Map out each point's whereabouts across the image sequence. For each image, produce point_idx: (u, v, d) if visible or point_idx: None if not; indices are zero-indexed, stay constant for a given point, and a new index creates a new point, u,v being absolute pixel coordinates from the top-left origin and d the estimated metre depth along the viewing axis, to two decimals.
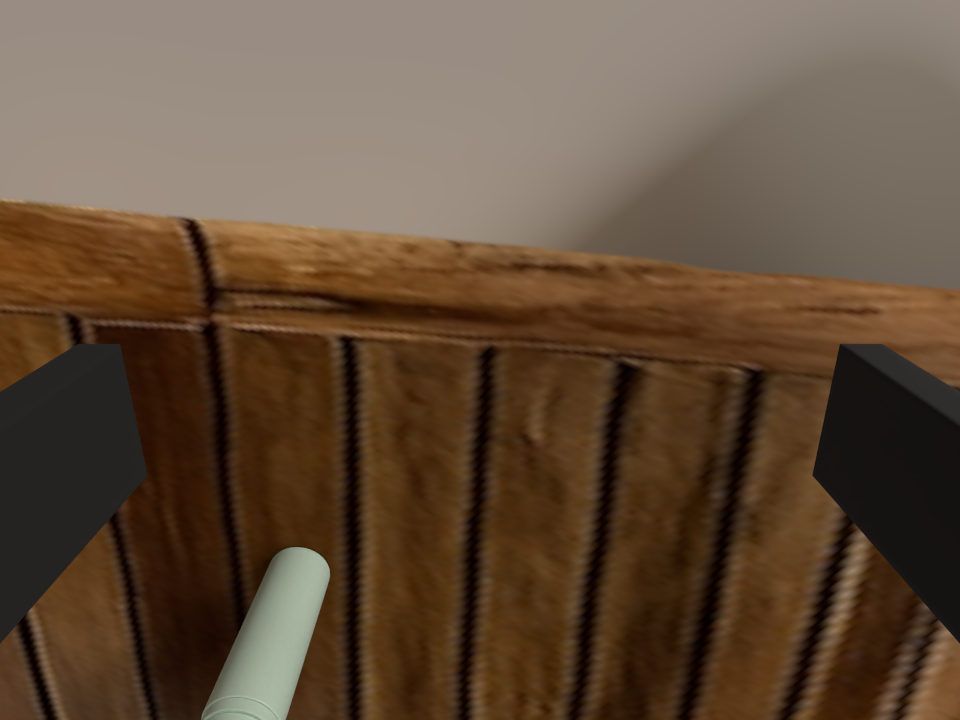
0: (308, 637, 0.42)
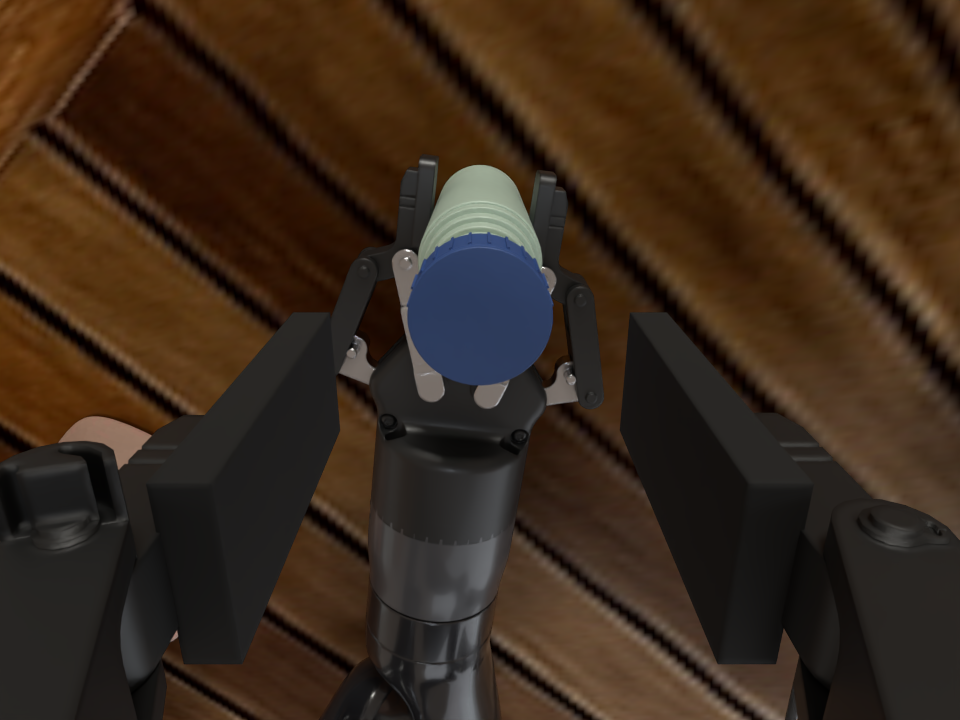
0: (512, 191, 0.29)
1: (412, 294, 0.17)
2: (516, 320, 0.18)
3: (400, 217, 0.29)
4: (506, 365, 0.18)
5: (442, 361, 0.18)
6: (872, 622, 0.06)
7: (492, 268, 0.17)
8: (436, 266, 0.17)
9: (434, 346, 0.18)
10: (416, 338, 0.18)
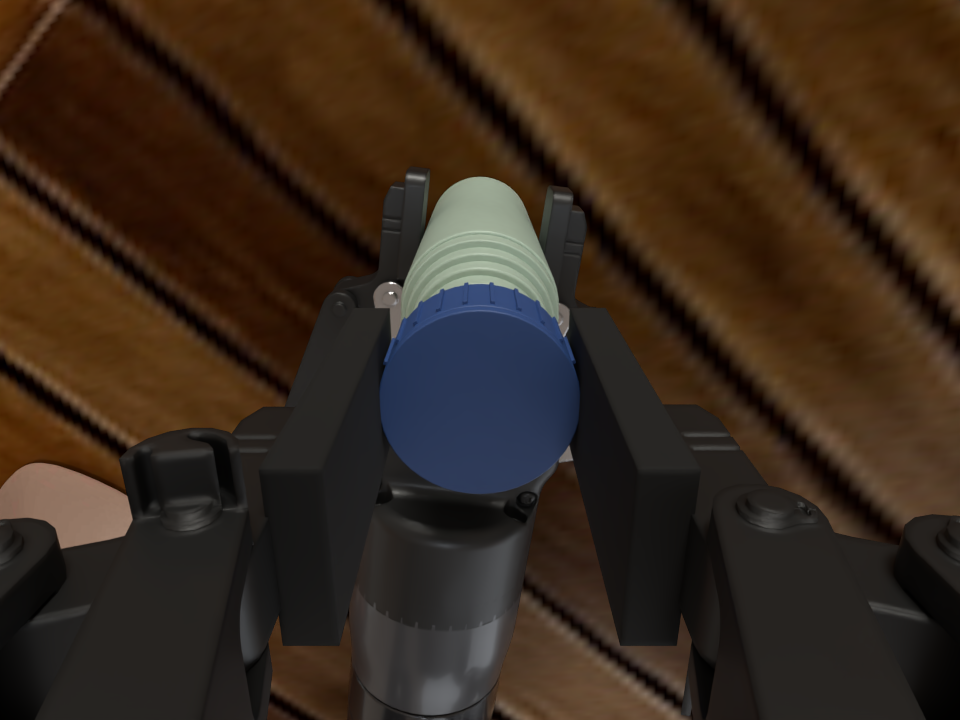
0: (518, 211, 0.24)
1: (385, 374, 0.12)
2: (530, 409, 0.13)
3: (383, 243, 0.24)
4: (516, 468, 0.13)
5: (427, 462, 0.13)
6: (745, 606, 0.06)
7: (497, 339, 0.12)
8: (418, 336, 0.12)
9: (416, 443, 0.13)
10: (391, 433, 0.13)
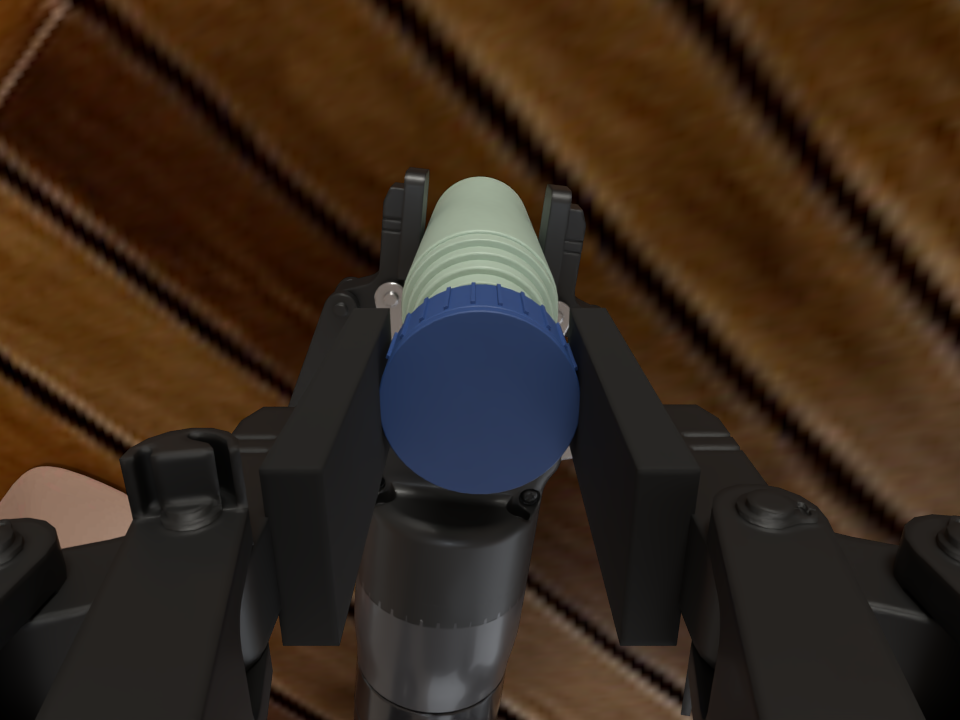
0: (517, 210, 0.24)
1: (511, 487, 0.13)
2: (447, 371, 0.12)
3: (384, 243, 0.24)
4: (508, 338, 0.12)
5: (562, 407, 0.13)
6: (745, 606, 0.06)
7: (415, 438, 0.13)
8: (462, 488, 0.13)
9: (551, 428, 0.13)
10: (557, 451, 0.13)
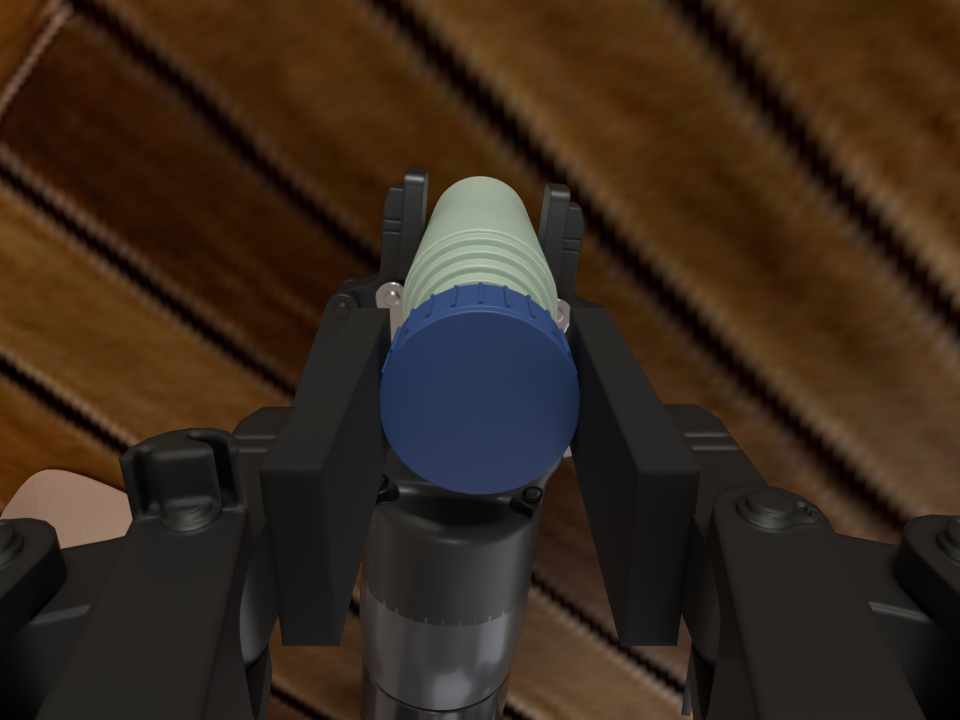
0: (517, 209, 0.24)
1: (530, 325, 0.12)
2: (470, 451, 0.13)
3: (384, 244, 0.24)
4: (406, 432, 0.13)
5: (422, 349, 0.12)
6: (746, 606, 0.06)
7: (547, 432, 0.13)
8: (564, 364, 0.12)
9: (447, 342, 0.12)
10: (464, 319, 0.12)
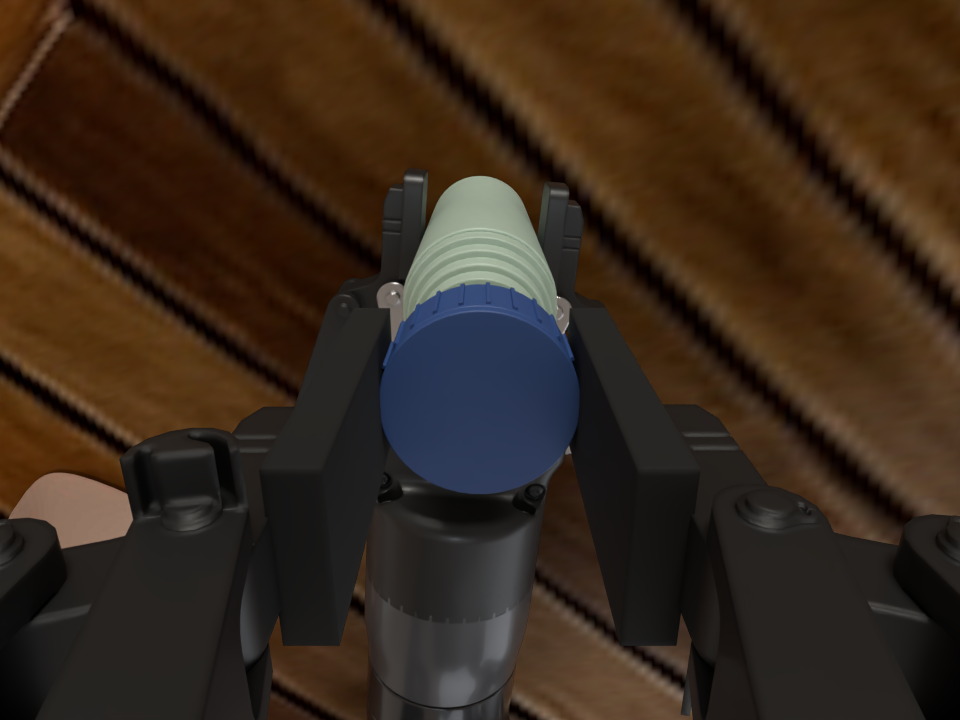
0: (516, 208, 0.24)
1: (383, 424, 0.13)
2: (524, 384, 0.12)
3: (384, 244, 0.24)
4: (547, 441, 0.13)
5: (468, 478, 0.13)
6: (745, 606, 0.06)
7: (454, 341, 0.12)
8: (388, 378, 0.12)
9: (448, 467, 0.13)
10: (421, 470, 0.13)
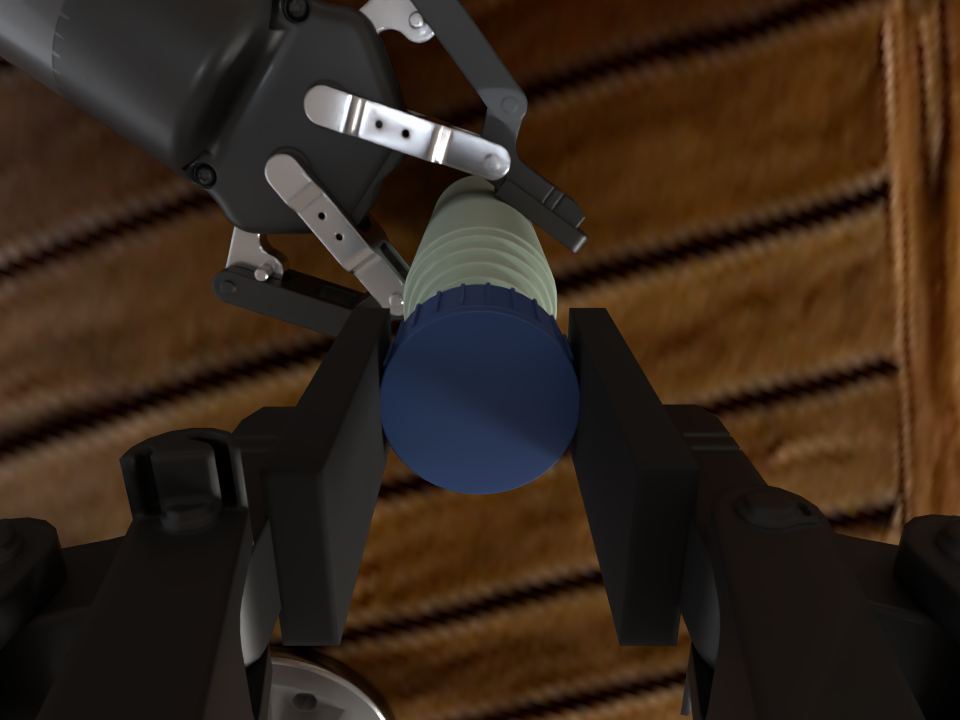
0: None
1: (383, 424, 0.13)
2: (524, 384, 0.12)
3: (542, 182, 0.23)
4: (547, 442, 0.13)
5: (468, 478, 0.13)
6: (745, 605, 0.06)
7: (454, 341, 0.12)
8: (388, 378, 0.12)
9: (447, 467, 0.13)
10: (420, 470, 0.13)
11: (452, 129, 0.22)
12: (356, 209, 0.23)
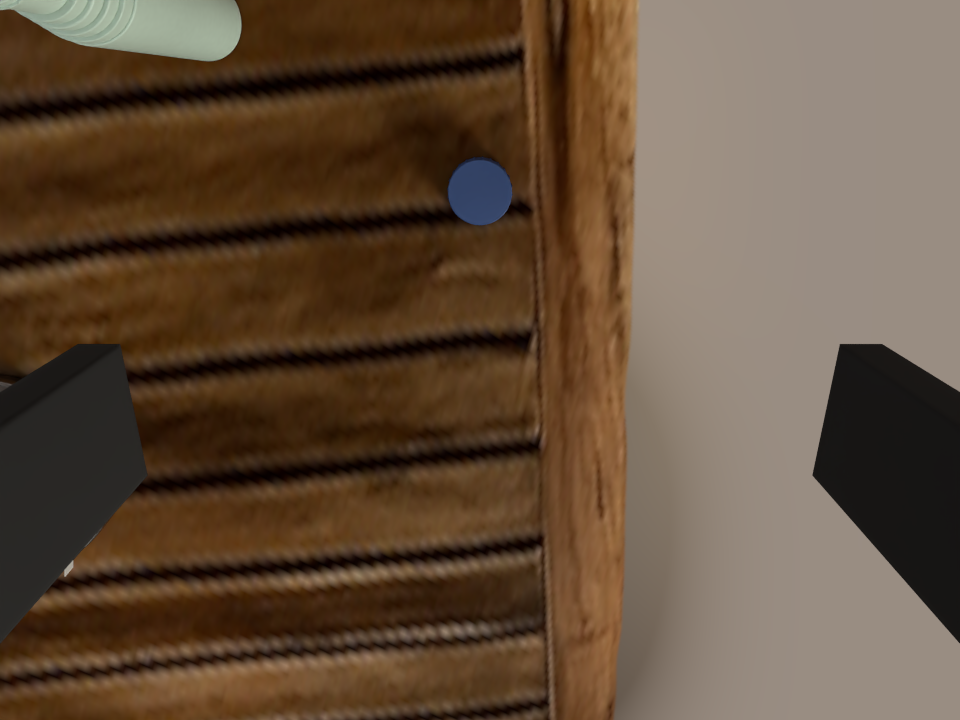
0: (169, 53, 0.33)
1: (449, 199, 0.40)
2: (493, 184, 0.40)
3: None
4: (501, 205, 0.41)
5: (476, 219, 0.41)
6: None
7: (472, 170, 0.40)
8: (451, 182, 0.40)
9: (469, 214, 0.41)
10: (461, 215, 0.41)
11: None
12: None
